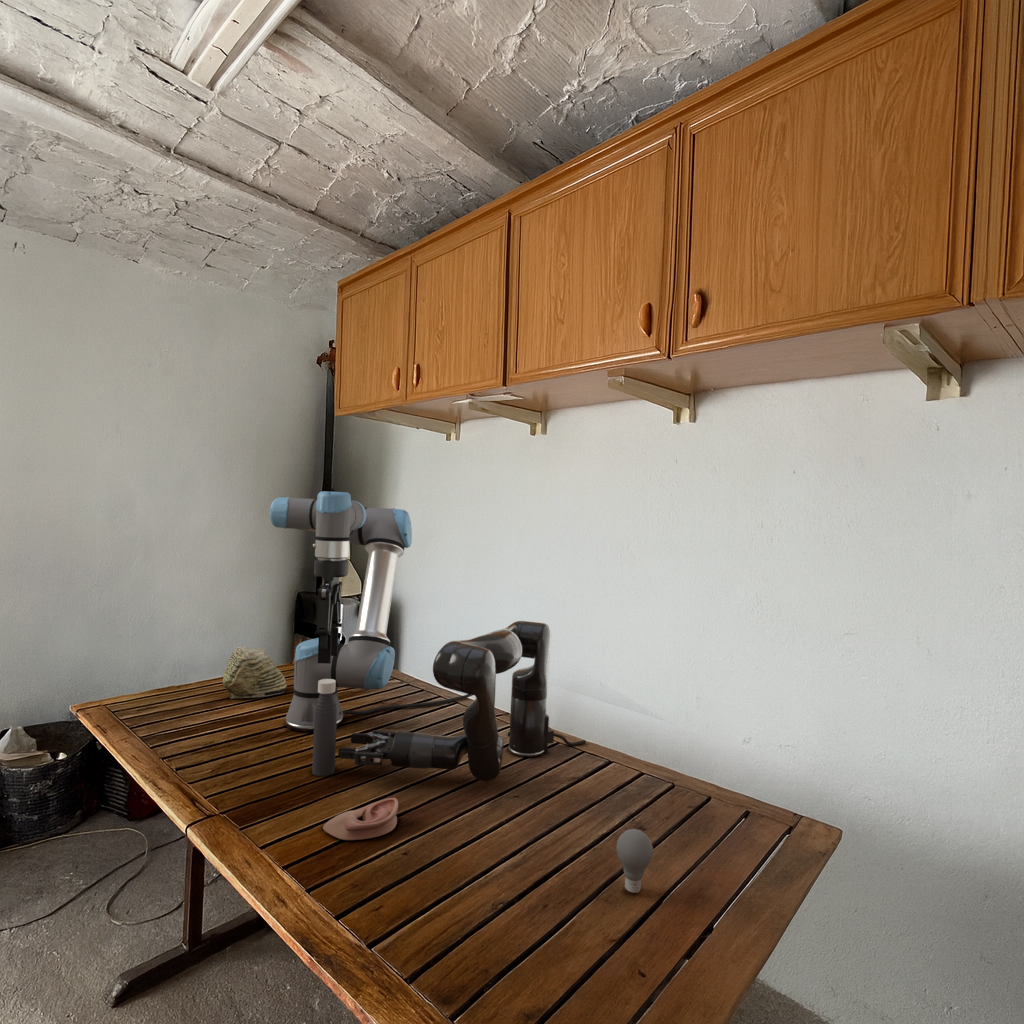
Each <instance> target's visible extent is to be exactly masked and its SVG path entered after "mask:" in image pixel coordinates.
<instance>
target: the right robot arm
mask: <svg viewBox="0 0 1024 1024" xmlns="http://www.w3.org/2000/svg"><path fill="white" fill-rule="evenodd" d="M551 646H552V630H551V627H550V625H549V624H547V623H544V622H537V621H529V620H528V621H527V620H516V621H514V622H512V623H510V624H509V625H508V626H506V627H505V628H500V629H497V630H494V631H490V632H488V633H486V634H482V635H479V636H476V637H473V638H469V639H461V640H450V641H448V642H447V643H445V644H444V645H443V646H442V647H441V648H440V649H439V650H438V652H437V654H436V655H435V657H434V660H433V663H432V674H433V678H434V680H435V681H436V683H437V684H439V685H440V686H442V687H443V688H445V689H448V690H451V691H456V692H458V693H462V694H465V695H467V694H473V696H474V697H475V699H474V700H472V701H471V702H470V703H469V705H468V706H467V707H466V709H465V710H464V713H463V716H462V717H463V718H462V726H463V731H464V734H460V735H455V736H448V735H436V734H430V733H424V732H412V731H411V732H410V731H391V730H389V731H387V730H379V729H374V730H372V732H368V733H358V732H352V734H351V736H350V743H351V744H355V745H364V746H363V747H362V746H361V747H357V748H356V747H347V746H346V747H345V746H340V747H339V748H338V752H337V756H338V758H339V759H347V760H348V759H349V760H354V765H356V766H370V767H371V766H373V767H381V766H383V760H390V762H391V765H392V767H395V768H406V769H408V768H409V769H421V770H423V769H424V770H425V769H434V770H435V769H436V770H437V769H438V770H450V771H451V770H453V771H454V770H456V769H457V768H459V765H460V763H461V761H462V759H463V758H464V756H465V755H467V763H468V769H469V772H470V774H471V775H472V776H473V777H474V778H475V779H476V780H478V781H480V782H486V783H487V782H491V781H493V780H495V779H496V778H498V776H499V775H500V773H501V771H502V765H503V763H502V762H503V753H504V739H503V738H502V736H501V735H499V729H498V725H497V720H496V712H495V711H496V709H495V708H496V707H495V706H496V685H497V681H496V680H497V679H496V678H497V675H499V674H503V673H506V672H507V671H510V670H511V669H512V668H514V667H515V666H516V665H518V664H519V662H520V661H521V659H522V658H526V659H533V660H534V661H533V664H532V665H531V666H527V667H523V668H519V669H517V670H515V671H513V673H512V674H511V690H510V691H511V694H510V715H509V731H508V732H507V738H508V751H509V752H510V753H511V754H513V755H515V756H519V757H522V758H523V757H524V758H534V757H540V756H542V755H544V754H548V751H549V750H548V747H549V744H554V739H555V738H559V739H561V740H562V742H564V743H565V745H567V746H571V747H572V746H573V747H576V746H580V745H584V744H586V743H587V742H586V741H587V740H585V739H583V740H578V741H574V742H572V741H568V739H567V738H566V737H565V736H564V735H562V734H559V733H556V732H555V731H554V730H553V729H552V728H551V727H550V716H549V714H547V701H548V682H549V681H548V680H549V672H550V671H549V670H550V658H551Z"/></svg>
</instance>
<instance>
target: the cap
mask: <svg viewBox="0 0 1024 1024" xmlns="http://www.w3.org/2000/svg"><path fill="white" fill-rule="evenodd" d="M335 687H336V681H335V680H334V679H322V680H319V681H318V693H321V694H330V693H334V692H335Z"/></svg>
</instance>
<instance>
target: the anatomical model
mask: <svg viewBox="0 0 1024 1024" xmlns="http://www.w3.org/2000/svg"><path fill="white" fill-rule="evenodd" d="M398 809H399V801H398V799H397V798H396V797H389V798H388V797H387V798H383V799H381V800H378V801H375V802H372V803H369V804H367V805H365V806H363V807H360V808H357V809H353V810H352V809H351V810H348V811H344V812H341V813H340V814H337V815H336V816H333V818H330V819H329V820H328V821H327V822H325V823H324V824H323V826H322V830H323V831H324V832H325V833H326V834H329V835H330V836H332V837H334V838H337V839H339V840H342V841H358V840H359V841H360V840H366V839H373V838H377V837H380V836H383V835H386V834H388V833H390V832H392V831H393V830H394V829H395V828H396V826H397V824H398V817H397V813H398Z"/></svg>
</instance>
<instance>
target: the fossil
mask: <svg viewBox="0 0 1024 1024" xmlns="http://www.w3.org/2000/svg"><path fill="white" fill-rule="evenodd" d="M222 676H223V677H222V685H223V687H224V688H225V690H226V691H228V693H229V698H230V699H250V698H264V697H271V696H275V695H281V694H284V693H285V691H286V689H287V687H288V686H287V680H286V678H285V676H284V674H283V673H282V672H281V669H279V668H278V667H277V665H276V663H275V662H274V660H273V659H272V658H271V657H270V656H269V655H268V654H267V653H266V652H265V650H264V649H263V648H260V647H258V648H251V647H247V646H246V647H245V646H238V647H237V648H236V649H235V650H233V651H232V653H231V656H230V657H229V659H228V660H227V663H226V666H225V668H224V671H223V675H222Z"/></svg>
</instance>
